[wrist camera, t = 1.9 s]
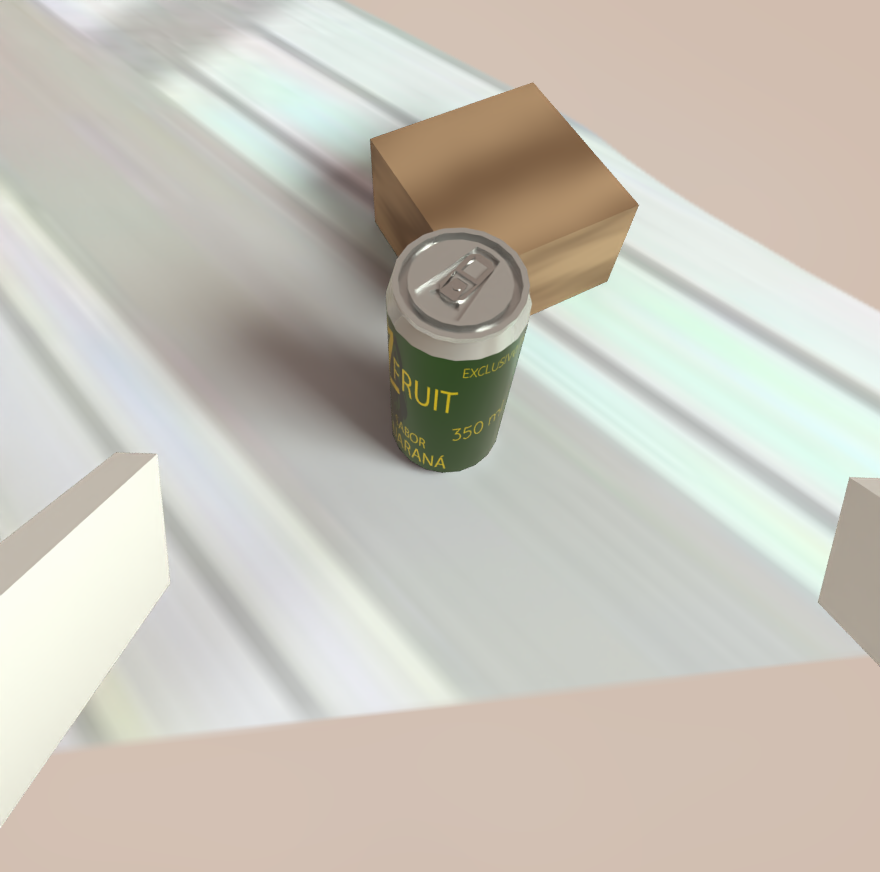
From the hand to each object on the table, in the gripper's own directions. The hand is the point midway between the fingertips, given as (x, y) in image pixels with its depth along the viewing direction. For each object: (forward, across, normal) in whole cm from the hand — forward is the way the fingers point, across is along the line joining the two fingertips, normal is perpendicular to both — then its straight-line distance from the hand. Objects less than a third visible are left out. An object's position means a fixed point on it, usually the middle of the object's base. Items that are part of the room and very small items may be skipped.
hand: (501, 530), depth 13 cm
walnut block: (+29, +2, +3) cm, 30 cm away
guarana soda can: (+21, -1, -5) cm, 22 cm away
